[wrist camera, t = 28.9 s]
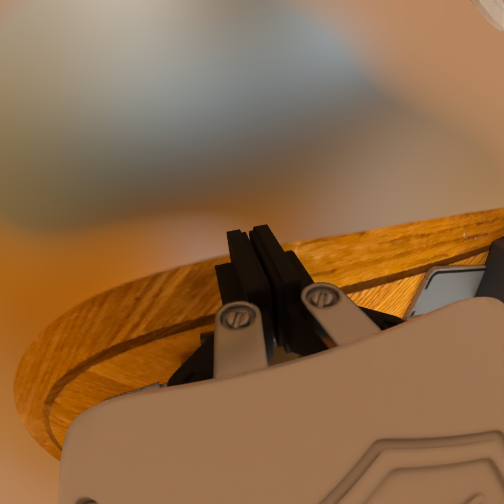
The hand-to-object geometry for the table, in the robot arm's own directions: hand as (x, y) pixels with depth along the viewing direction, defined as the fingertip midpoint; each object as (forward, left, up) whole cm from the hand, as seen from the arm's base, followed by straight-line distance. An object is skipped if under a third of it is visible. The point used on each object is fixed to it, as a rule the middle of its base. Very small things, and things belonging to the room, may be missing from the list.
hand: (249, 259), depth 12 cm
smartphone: (+14, +24, -6) cm, 28 cm away
